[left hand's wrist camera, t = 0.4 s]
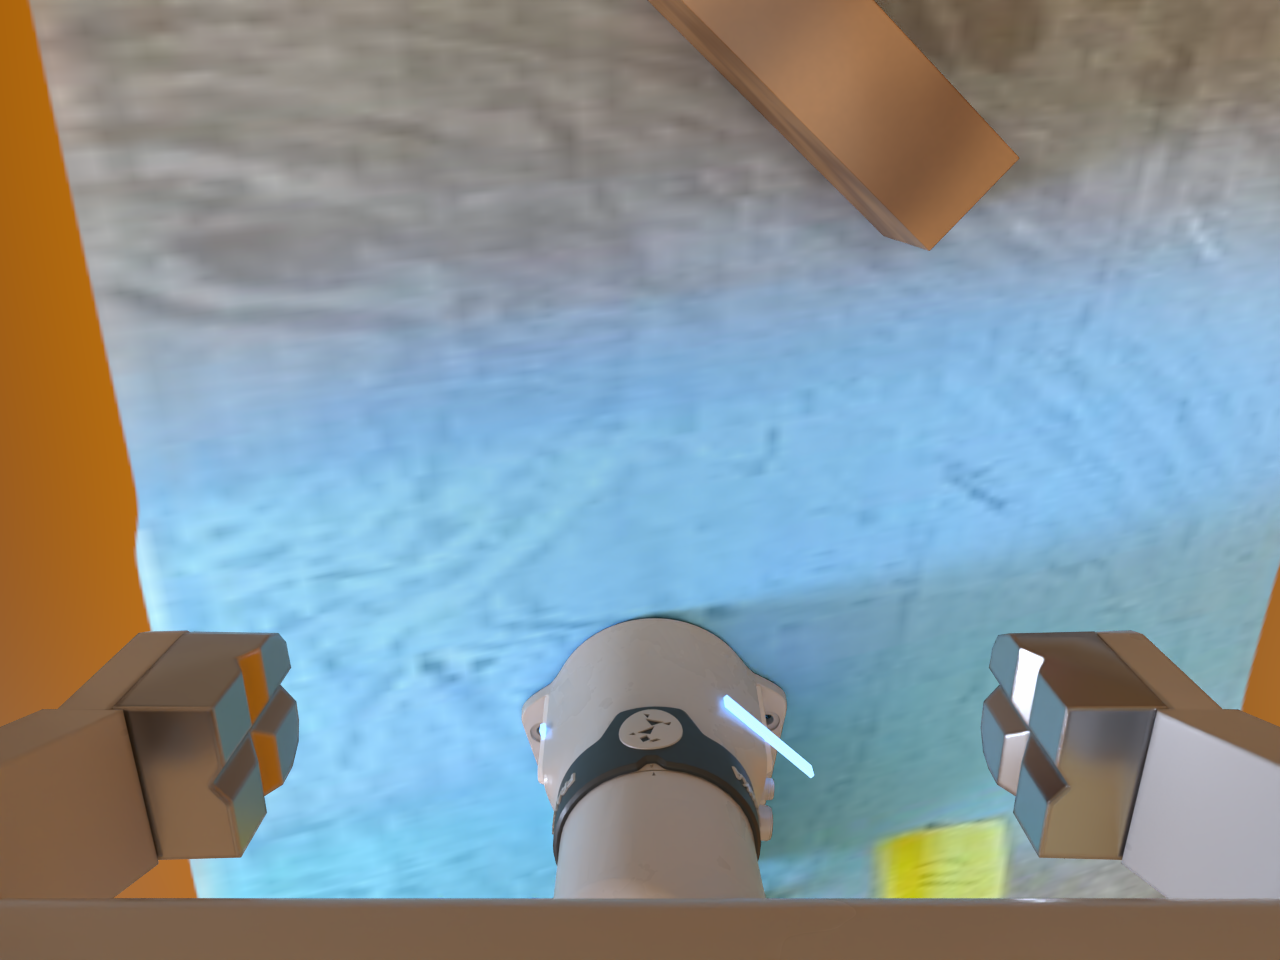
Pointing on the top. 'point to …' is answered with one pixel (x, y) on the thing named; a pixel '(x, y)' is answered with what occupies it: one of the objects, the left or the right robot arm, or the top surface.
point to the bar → (854, 105)
